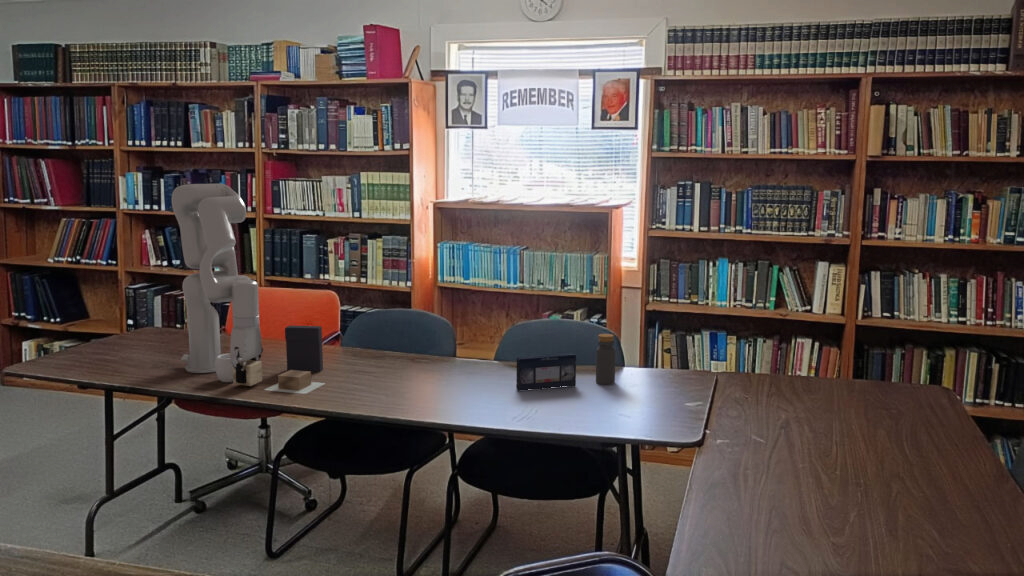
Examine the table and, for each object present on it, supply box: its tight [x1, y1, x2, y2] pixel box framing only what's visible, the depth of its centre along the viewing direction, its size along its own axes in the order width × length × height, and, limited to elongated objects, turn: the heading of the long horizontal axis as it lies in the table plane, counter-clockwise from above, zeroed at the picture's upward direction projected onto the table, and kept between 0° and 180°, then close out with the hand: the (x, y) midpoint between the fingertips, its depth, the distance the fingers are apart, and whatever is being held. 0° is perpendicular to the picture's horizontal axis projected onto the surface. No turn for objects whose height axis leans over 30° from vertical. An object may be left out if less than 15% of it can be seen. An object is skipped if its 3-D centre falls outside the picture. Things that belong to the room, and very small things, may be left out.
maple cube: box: [232, 360, 263, 387], centre depth 257 cm, size 6×6×6 cm
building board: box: [263, 381, 326, 395], centre depth 257 cm, size 14×12×1 cm
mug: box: [215, 352, 242, 383], centre depth 267 cm, size 12×8×8 cm
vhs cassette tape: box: [515, 353, 577, 391], centre depth 258 cm, size 18×3×10 cm, turn 105°
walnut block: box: [277, 370, 312, 391], centre depth 257 cm, size 7×7×4 cm
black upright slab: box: [284, 325, 324, 373], centre depth 275 cm, size 11×4×15 cm, turn 84°
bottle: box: [595, 333, 616, 386], centre depth 264 cm, size 6×6×15 cm
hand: (247, 379), depth 258 cm, fingers closed on maple cube, 6 cm apart
